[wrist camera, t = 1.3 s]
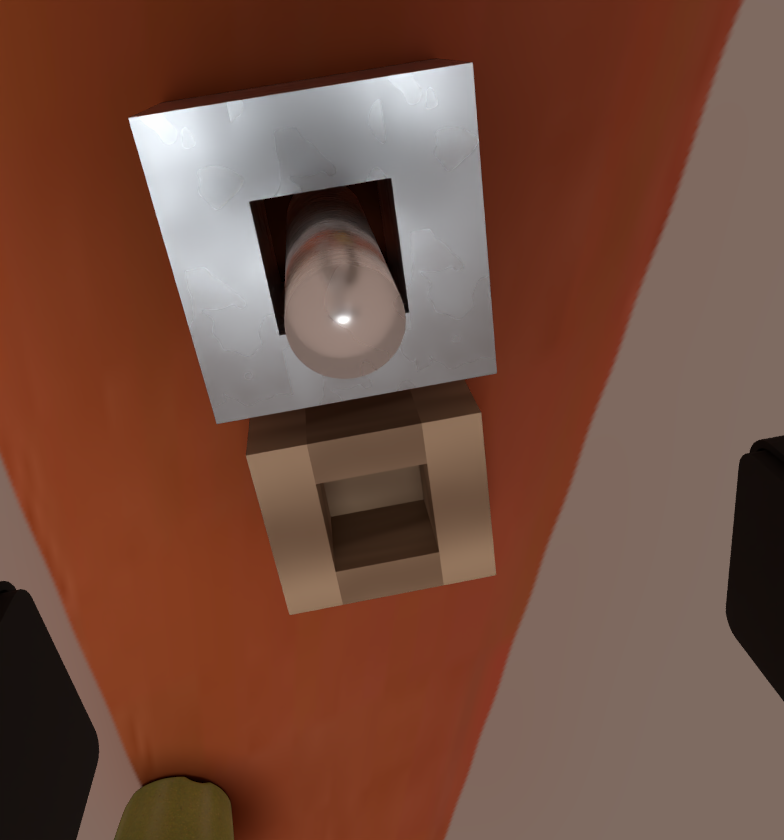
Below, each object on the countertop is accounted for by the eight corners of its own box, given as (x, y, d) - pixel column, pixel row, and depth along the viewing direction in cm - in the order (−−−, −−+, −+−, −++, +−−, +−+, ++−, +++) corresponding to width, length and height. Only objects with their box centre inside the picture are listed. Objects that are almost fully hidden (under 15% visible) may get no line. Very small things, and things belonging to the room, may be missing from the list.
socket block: (161, 102, 26) (128, 118, 21) (436, 58, 26) (472, 62, 21) (229, 358, 31) (216, 423, 25) (461, 317, 31) (496, 373, 26)
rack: (252, 398, 32) (245, 455, 27) (454, 361, 32) (481, 412, 28) (289, 543, 35) (289, 614, 31) (470, 509, 36) (496, 575, 31)
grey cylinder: (279, 186, 28) (272, 275, 17) (356, 173, 28) (397, 253, 17) (294, 263, 29) (297, 388, 19) (368, 250, 29) (412, 367, 19)
